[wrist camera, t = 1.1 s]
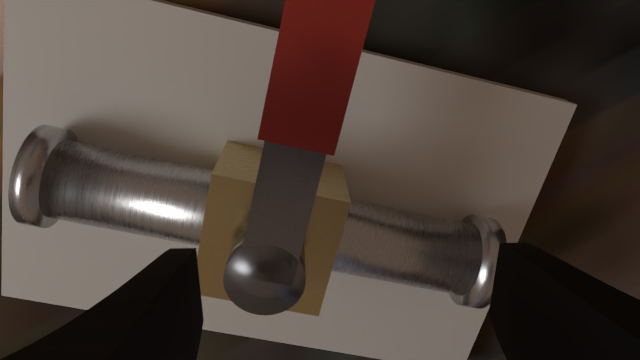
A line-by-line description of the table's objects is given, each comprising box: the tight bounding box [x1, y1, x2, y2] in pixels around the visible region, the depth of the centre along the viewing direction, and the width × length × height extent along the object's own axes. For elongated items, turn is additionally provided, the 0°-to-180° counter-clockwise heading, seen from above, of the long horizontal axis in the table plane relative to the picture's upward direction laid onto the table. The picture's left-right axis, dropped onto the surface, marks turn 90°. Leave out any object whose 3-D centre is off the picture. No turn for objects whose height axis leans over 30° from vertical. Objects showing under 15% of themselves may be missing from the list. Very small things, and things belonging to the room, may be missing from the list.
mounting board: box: [1, 0, 577, 360], centre depth 21 cm, size 22×14×1 cm, turn 76°
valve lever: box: [223, 0, 375, 315], centre depth 15 cm, size 10×3×2 cm, turn 167°
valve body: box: [8, 124, 507, 316], centre depth 19 cm, size 18×5×4 cm, turn 76°
